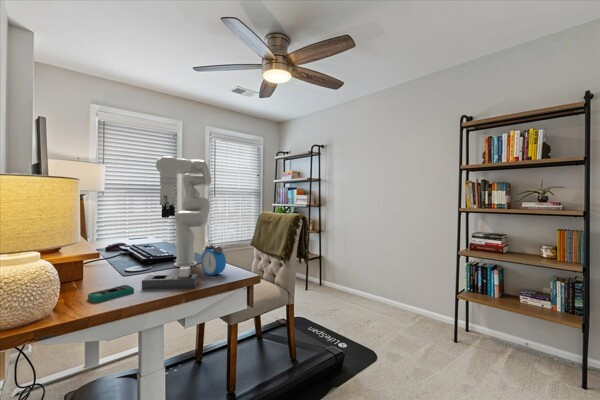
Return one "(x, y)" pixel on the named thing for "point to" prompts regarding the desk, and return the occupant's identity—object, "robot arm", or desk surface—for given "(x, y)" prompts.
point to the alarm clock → (213, 260)
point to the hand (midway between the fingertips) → (168, 216)
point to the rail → (169, 282)
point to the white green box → (185, 272)
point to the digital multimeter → (110, 293)
